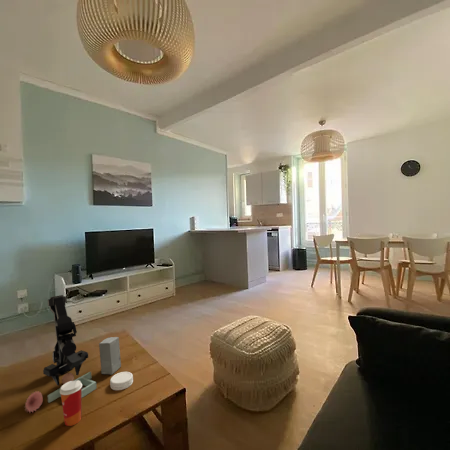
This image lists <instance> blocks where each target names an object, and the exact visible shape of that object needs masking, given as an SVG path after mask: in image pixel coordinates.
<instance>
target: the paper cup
mask: <svg viewBox="0 0 450 450" xmlns="http://www.w3.org/2000/svg"><path fill="white" fill-rule="evenodd" d="M74 380H75V381H74ZM74 380H73V381H69V382H67V383H65V384H63V385H61V386H60V388H61V390H60V394H61V397H60V398H61V406H62V413H63V419H64V420H63V421H64V425H65V426H66V427H72V426H75V425H76V424H78V423H79V422H81V419H82V398H81V388H83V385H82V383H81V382H80V381H79V380H77V381H76V379H74Z"/></svg>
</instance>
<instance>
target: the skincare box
mask: <svg viewBox="0 0 450 450" xmlns="http://www.w3.org/2000/svg"><path fill="white" fill-rule="evenodd" d="M98 348H99V359H100V373H101V374H102V375H112V376H114V375H113V374H115V373H116V372H117V371H118V370H119V369H120V368H121V367H122V362H121V361H122V360H121V359H122V358H121V351H120V348H121V347H120V337H118V336H114V337H113V336H109V337H107V338H105V339H103V340H102V341H101V342H99V343H98Z"/></svg>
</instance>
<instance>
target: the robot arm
mask: <svg viewBox="0 0 450 450" xmlns="http://www.w3.org/2000/svg"><path fill="white" fill-rule="evenodd" d="M67 303H68V299H67V295H65V296H64V295H63V294H61V295H54V296H50V297H49V299H47V306H48V307H49V310H50V311H51V312H52V313H53V318H54V332H55V333H54V334H55V337H56V338H55V339H56V343H55V345H54V346H53V347H54V348H53V351H52V362H53V363H52V364H50V365H47V366H45V367H44V368H43V370H42V373H43V375H45V376H47V377H51V378H52V379H53V381H54V383H55V385H57V386H60V376H61V375H65V374H67V373H69V372H70V371H72V370H73V369H74V372H75V375H76V376H79V373H80V371H81V368H82V365H83V364H84V362H85V361H86V360H87V359H89V353H88V352H87V351H85V350H79V351H77V345H76V343H75V342H74V341H75V340H73V338H74V337H77V327H76V324H75V322H74V321H73V320H72V317H71V316H69V315H68V312H67V307H66V304H67ZM76 351H77V352H76Z"/></svg>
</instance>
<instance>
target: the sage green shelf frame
mask: <svg viewBox="0 0 450 450" xmlns="http://www.w3.org/2000/svg"><path fill="white" fill-rule="evenodd" d="M75 380H76V381H77V380H79V381H80V382H81V383H82V386H85V387H82V388H83V389H82V390H81V399H82V398H85V396H88V395H89V394H90V393H92V392H93V391H95V390H96V389H97V381H94V380H92V371H89V372H87V373H85V374H83V375H81V376H79V377H78V378H76V379H74V380H73V381H75ZM60 390H61V387H60V388H58V389H57V390H54V391H53V392H51V393H49V394H47V403H51V402H53V401H55V400H56V399H58V398H61V394H60Z"/></svg>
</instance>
